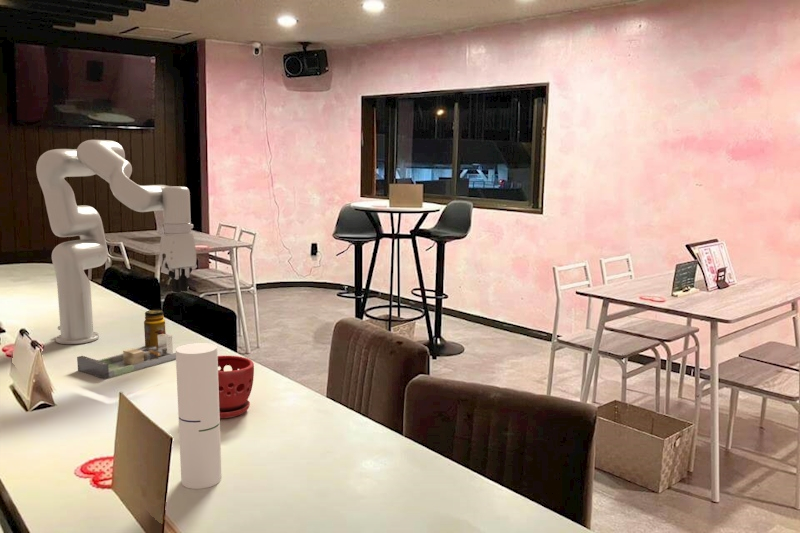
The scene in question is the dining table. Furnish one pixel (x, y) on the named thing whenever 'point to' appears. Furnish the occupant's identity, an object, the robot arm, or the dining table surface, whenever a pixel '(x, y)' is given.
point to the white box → (160, 347)
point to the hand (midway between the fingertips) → (180, 291)
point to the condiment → (153, 327)
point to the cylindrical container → (198, 415)
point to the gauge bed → (118, 364)
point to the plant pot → (234, 385)
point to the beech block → (133, 356)
